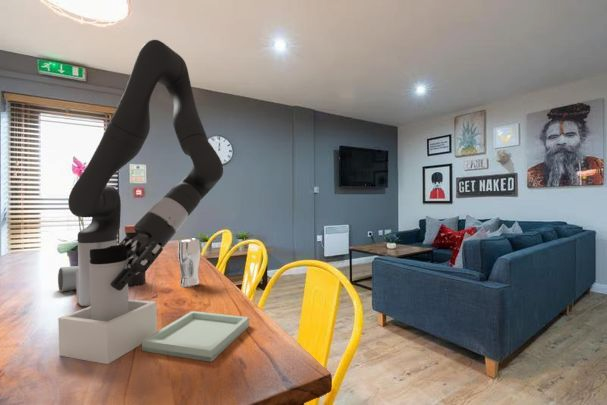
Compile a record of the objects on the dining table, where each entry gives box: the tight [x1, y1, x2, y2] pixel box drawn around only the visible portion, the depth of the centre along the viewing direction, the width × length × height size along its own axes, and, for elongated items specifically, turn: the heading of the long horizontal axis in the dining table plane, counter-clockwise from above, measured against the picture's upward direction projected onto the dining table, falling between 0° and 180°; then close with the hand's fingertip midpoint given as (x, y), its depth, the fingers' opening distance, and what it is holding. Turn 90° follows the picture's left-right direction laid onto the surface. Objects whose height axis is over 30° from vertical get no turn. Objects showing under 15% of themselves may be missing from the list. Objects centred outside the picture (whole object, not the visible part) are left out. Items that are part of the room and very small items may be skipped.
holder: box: [57, 298, 158, 365], centre depth 59 cm, size 12×12×7 cm
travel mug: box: [90, 244, 129, 322], centre depth 59 cm, size 6×7×20 cm
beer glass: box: [177, 238, 201, 288], centre depth 99 cm, size 7×7×15 cm
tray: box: [141, 310, 250, 363], centre depth 61 cm, size 15×15×2 cm
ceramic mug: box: [57, 265, 78, 293], centre depth 97 cm, size 11×8×8 cm
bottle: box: [121, 224, 147, 288], centre depth 100 cm, size 7×7×20 cm
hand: (106, 284), depth 58 cm, fingers open, 8 cm apart
